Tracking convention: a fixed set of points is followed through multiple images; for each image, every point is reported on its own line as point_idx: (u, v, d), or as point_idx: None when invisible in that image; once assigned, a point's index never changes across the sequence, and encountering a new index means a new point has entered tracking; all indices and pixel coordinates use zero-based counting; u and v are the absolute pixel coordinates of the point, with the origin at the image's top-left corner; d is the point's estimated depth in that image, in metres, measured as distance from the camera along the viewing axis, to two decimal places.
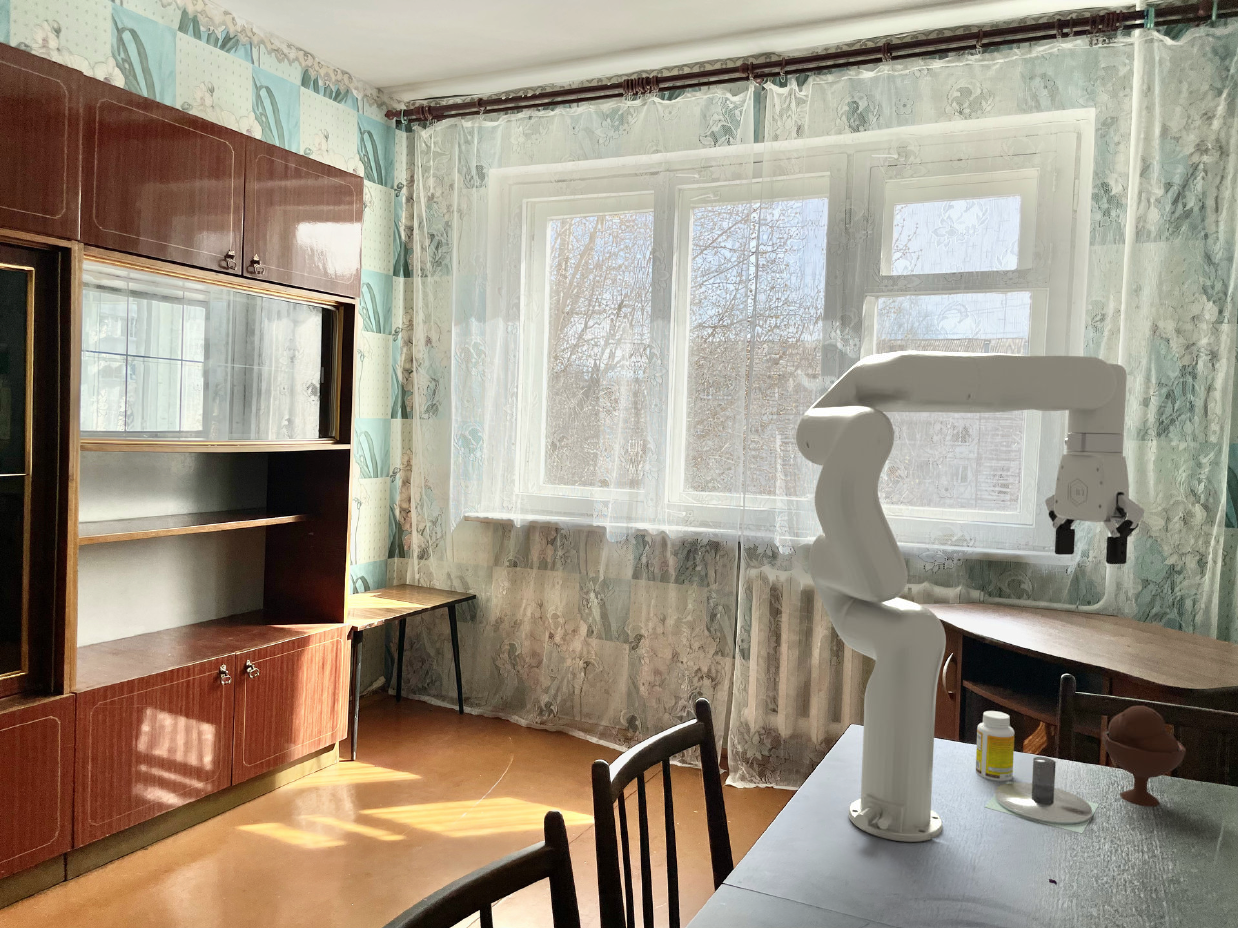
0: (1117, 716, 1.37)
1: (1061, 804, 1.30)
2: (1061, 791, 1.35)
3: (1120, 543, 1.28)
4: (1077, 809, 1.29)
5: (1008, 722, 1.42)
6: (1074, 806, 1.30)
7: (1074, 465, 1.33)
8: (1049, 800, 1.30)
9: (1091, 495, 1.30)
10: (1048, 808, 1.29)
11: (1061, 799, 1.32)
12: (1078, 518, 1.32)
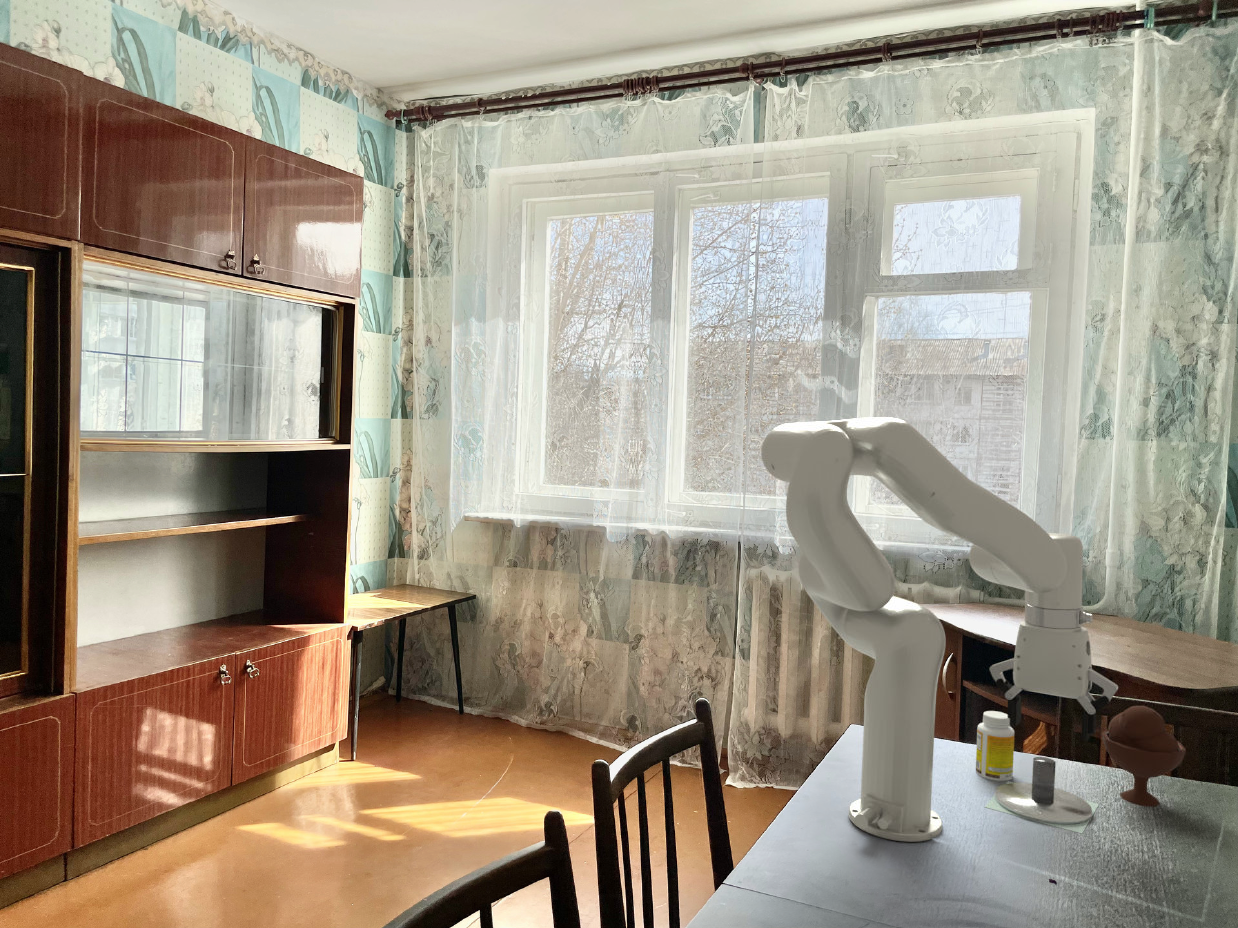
0: (1117, 716, 1.37)
1: (1061, 804, 1.30)
2: (1061, 791, 1.35)
3: None
4: (1077, 809, 1.29)
5: (1008, 722, 1.42)
6: (1074, 806, 1.30)
7: None
8: (1049, 800, 1.30)
9: None
10: (1048, 808, 1.29)
11: (1061, 799, 1.32)
12: None
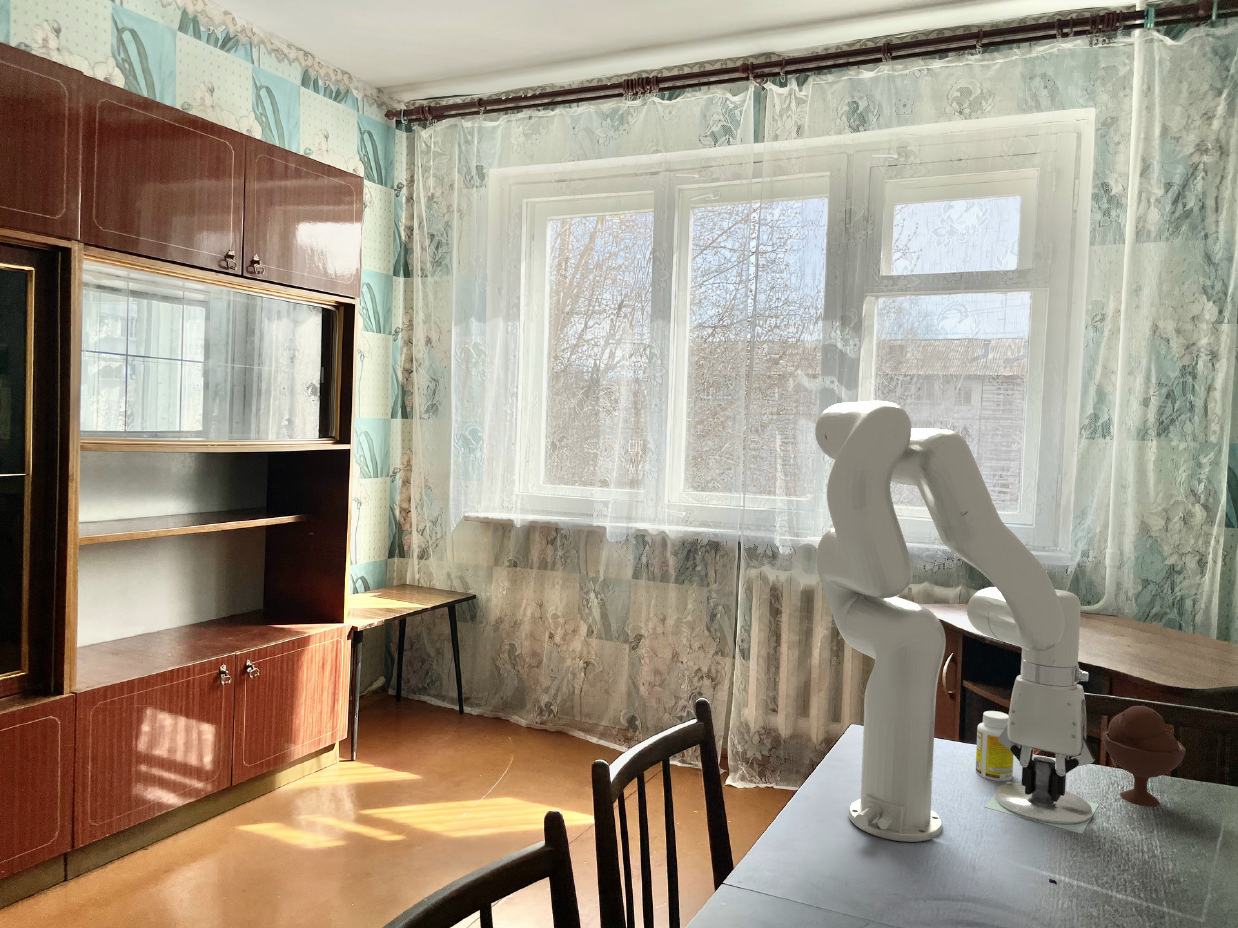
0: (1117, 716, 1.37)
1: (1061, 804, 1.30)
2: None
3: None
4: (1077, 809, 1.29)
5: None
6: (1074, 806, 1.30)
7: None
8: (1049, 800, 1.30)
9: None
10: (1048, 808, 1.29)
11: (1061, 799, 1.32)
12: None
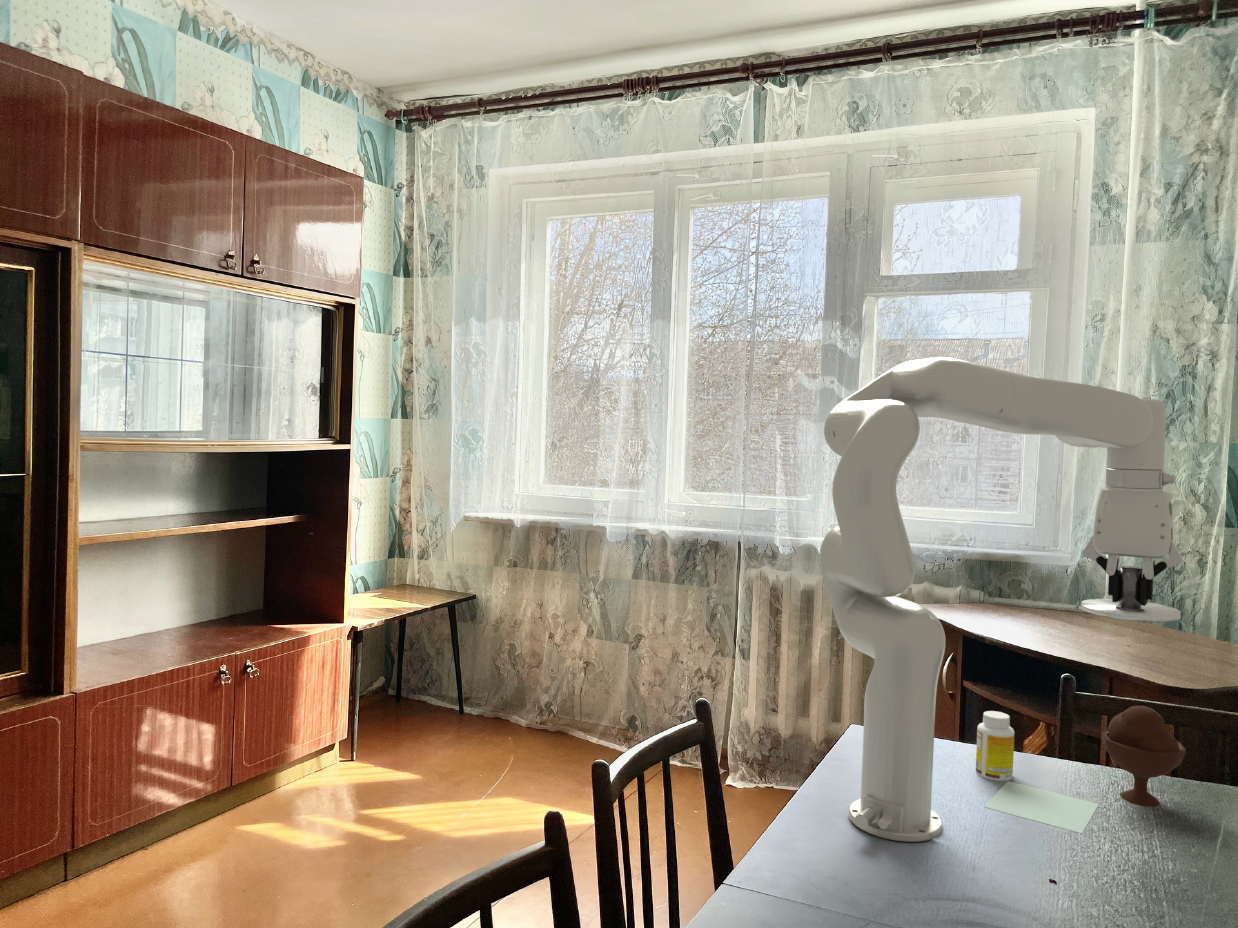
0: (1117, 716, 1.37)
1: (1149, 609, 1.32)
2: None
3: None
4: (1166, 611, 1.30)
5: (1008, 722, 1.42)
6: (1162, 610, 1.31)
7: None
8: (1137, 605, 1.32)
9: None
10: (1137, 611, 1.30)
11: (1148, 606, 1.34)
12: None
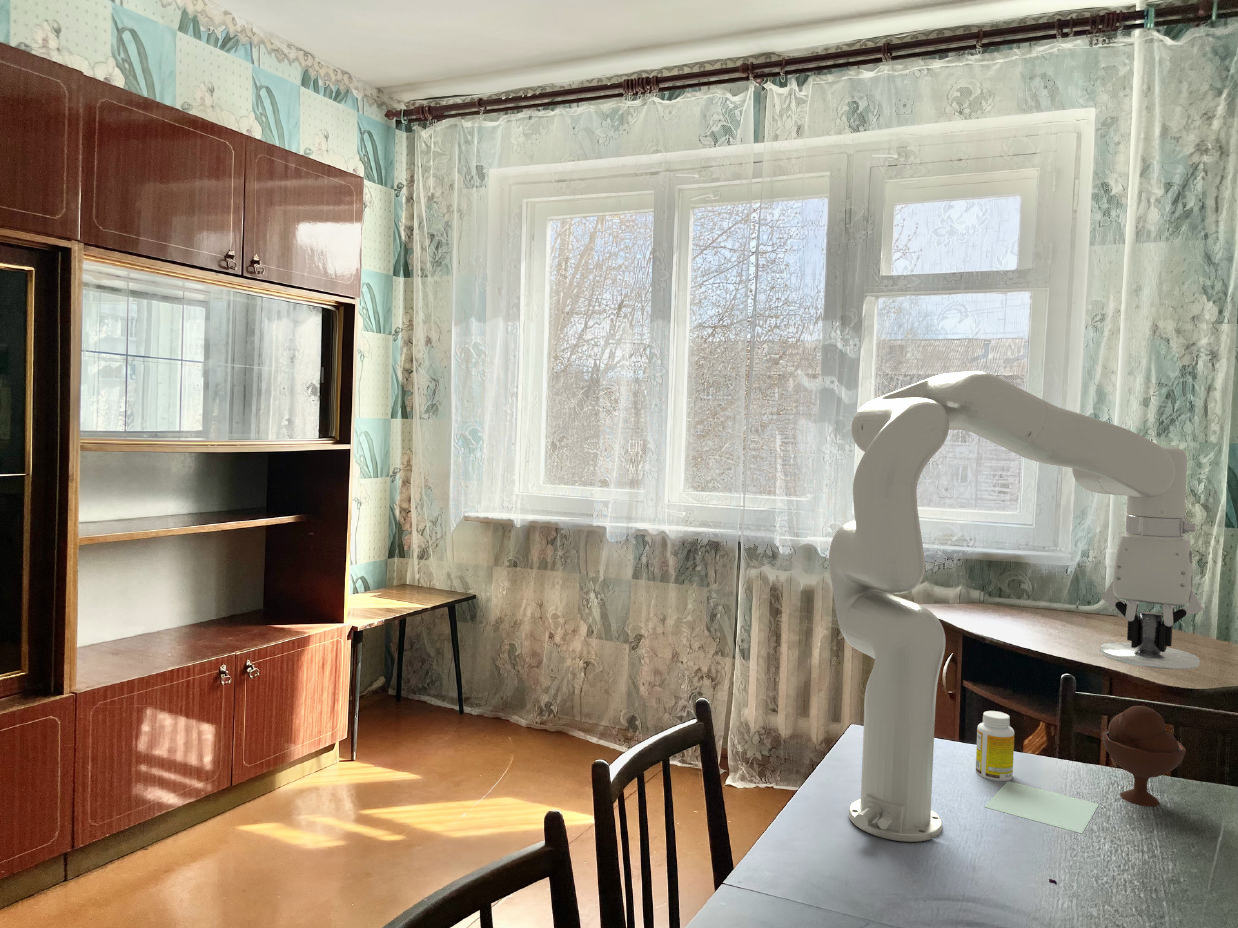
0: (1117, 716, 1.37)
1: (1168, 655, 1.33)
2: None
3: None
4: (1185, 658, 1.31)
5: (1008, 722, 1.42)
6: (1181, 656, 1.33)
7: None
8: (1156, 651, 1.33)
9: None
10: (1156, 657, 1.32)
11: (1166, 652, 1.35)
12: None
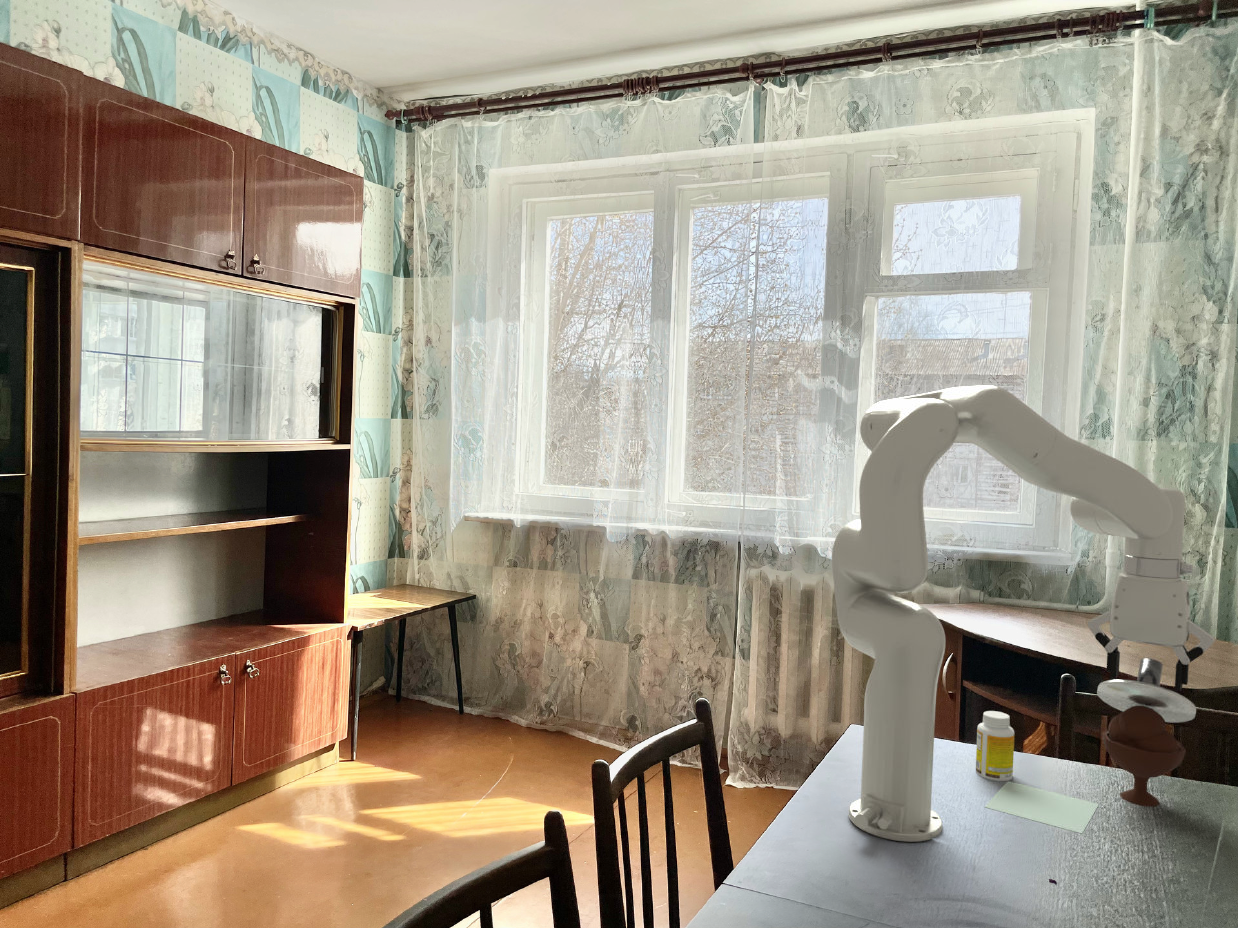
0: (1117, 716, 1.37)
1: None
2: None
3: None
4: None
5: (1008, 722, 1.42)
6: None
7: None
8: None
9: None
10: None
11: None
12: None
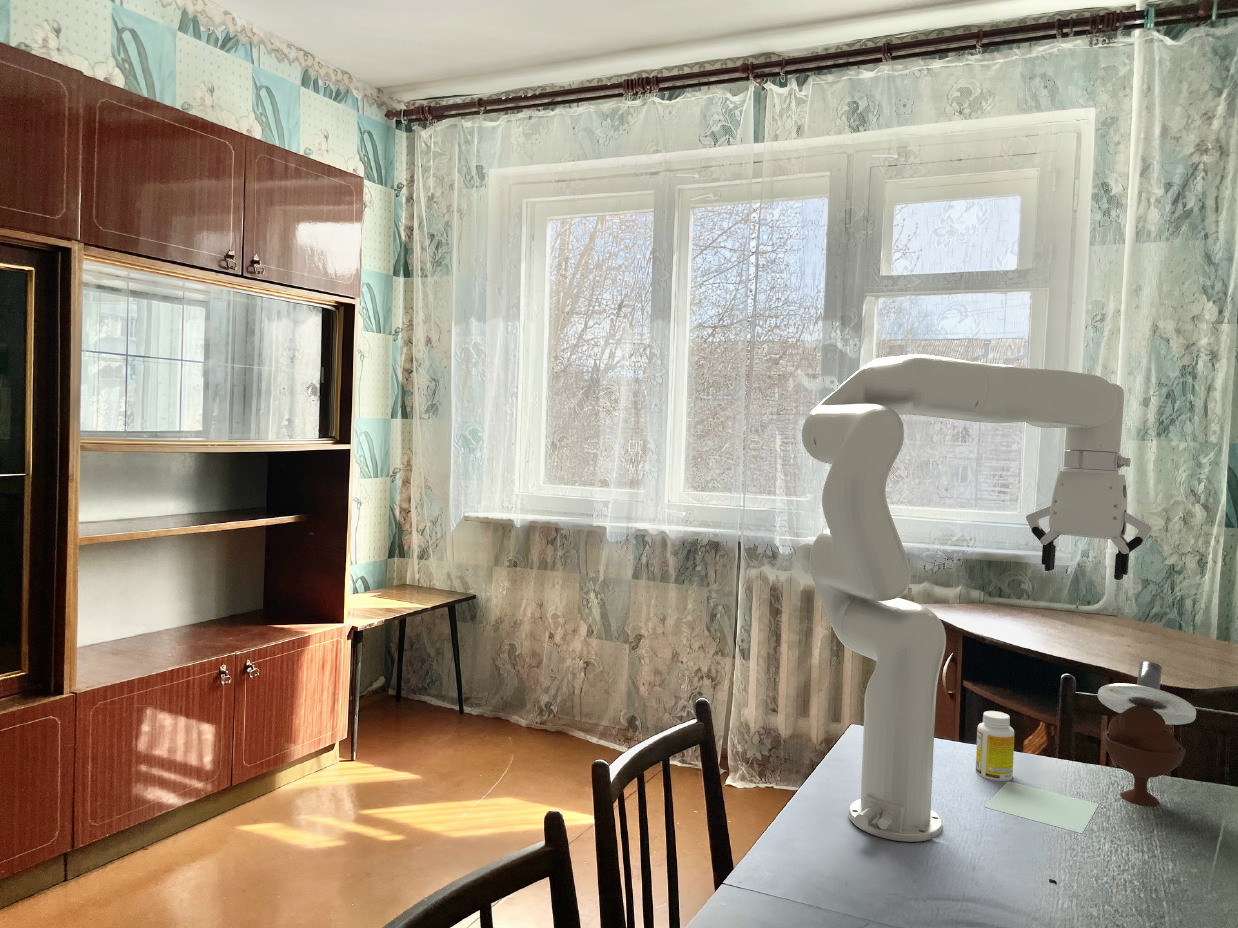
0: (1117, 716, 1.37)
1: None
2: None
3: None
4: None
5: (1008, 722, 1.42)
6: None
7: None
8: None
9: None
10: None
11: None
12: None
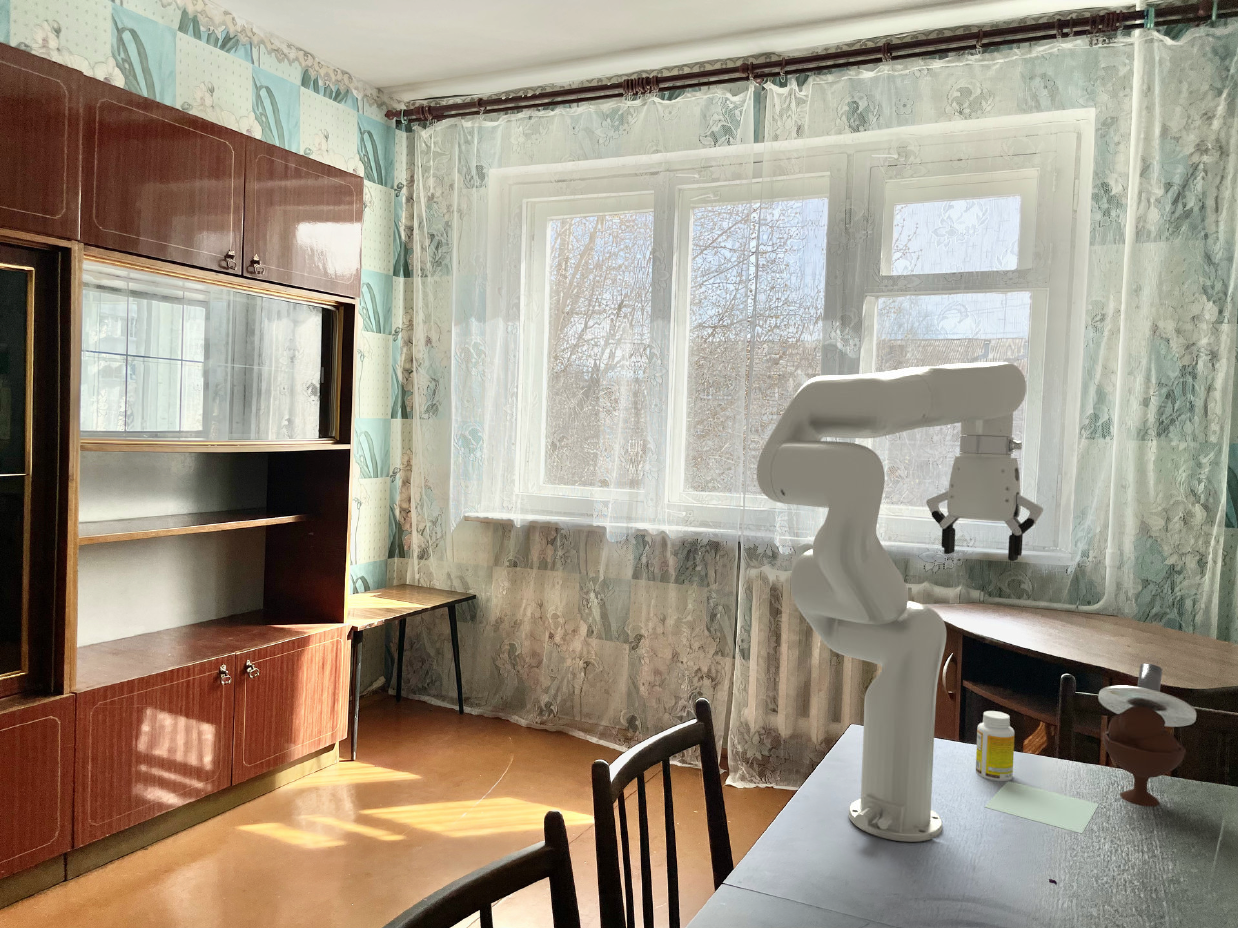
0: (1117, 716, 1.37)
1: None
2: None
3: None
4: None
5: (1008, 722, 1.42)
6: None
7: None
8: None
9: None
10: None
11: None
12: None
